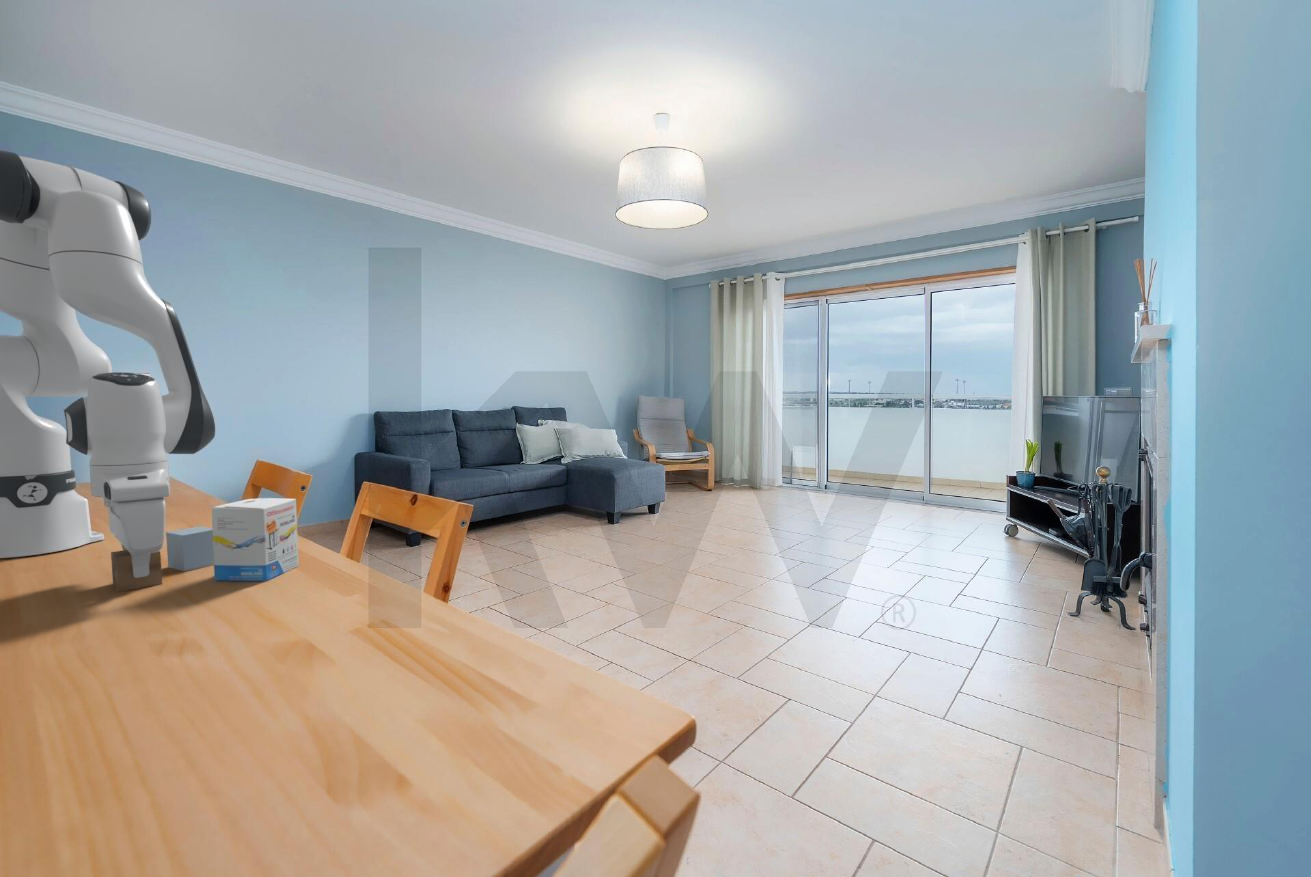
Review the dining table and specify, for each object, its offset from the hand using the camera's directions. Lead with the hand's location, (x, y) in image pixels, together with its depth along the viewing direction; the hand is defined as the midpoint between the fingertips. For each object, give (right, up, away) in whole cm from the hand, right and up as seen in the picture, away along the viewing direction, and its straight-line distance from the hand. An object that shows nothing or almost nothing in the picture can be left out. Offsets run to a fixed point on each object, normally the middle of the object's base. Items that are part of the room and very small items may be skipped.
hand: (137, 571), depth 90 cm
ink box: (+15, -2, +6) cm, 16 cm away
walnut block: (0, -2, 0) cm, 2 cm away
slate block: (+1, -1, +10) cm, 10 cm away
